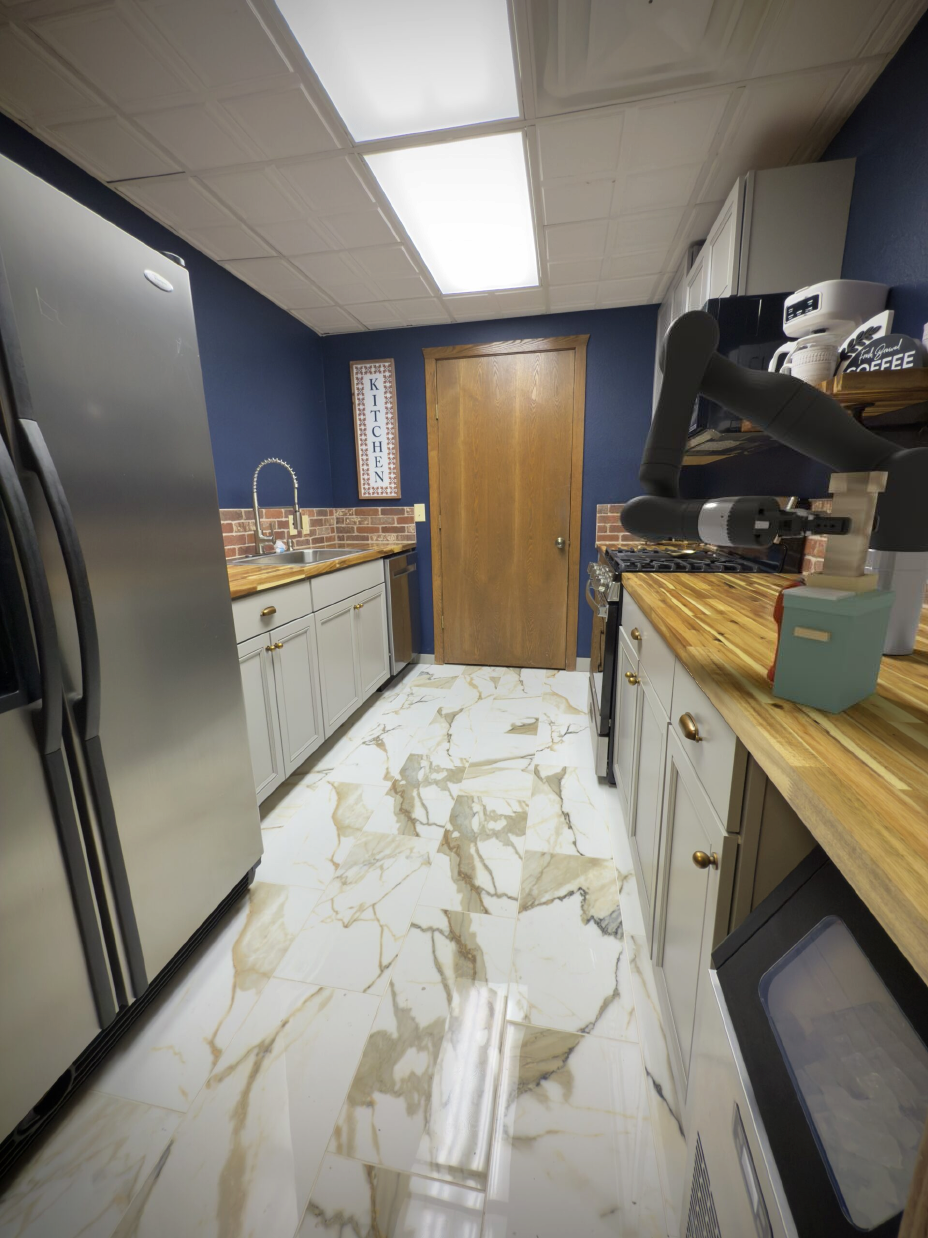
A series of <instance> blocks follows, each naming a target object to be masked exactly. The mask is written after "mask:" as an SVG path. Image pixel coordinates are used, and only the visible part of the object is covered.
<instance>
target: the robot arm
mask: <svg viewBox="0 0 928 1238" xmlns="http://www.w3.org/2000/svg"><path fill="white" fill-rule="evenodd" d="M719 342H720V326H719V324H718V322H717V319H716V318H715V317H714V316H713V314H711V313H709V312H708V311H705V310H700V309H694V310H689V311H686V312H684V313H682V314H680V315H679V316H678V317H677V318H675V319H674V320H673V321H672V323H670V325H669V326H668V329H666V332H665V333H664V336H663V339H662V344H661V348H660V352H659V357H658V367H659V370H660V373H662V375H663V377H662V383H661V387H660V392H659V396H658V400H657V403H656V407H655V411H654V414H653V418H652V421H651V424H650V428H649V431H648V434H647V438H646V441H645V445H644V449H643V453H642V459H641V461H640V462H641V463H640V466H639V471H638V479H637V480H638V483H639V484H640V486H641V487H642V488H643V489H644V490H645V493H646V495H640V496H637V497H636V496H635V497H634V498H632V499H629V500H628V501H627V502H626V503H625V504H624V505H623V507H622V509H621V511H620V514H619V522H620V524H621V527H622V528H623V530H624V531H625V532H627V533H628V534H629V535H631V536H634V537H637V538H640V539H642V540H644V541H647V542H650V543H655V544H656V543H661V542H664V541H666V540H667V539H668V538H669V537H670V538H672V539H676V540H679V541H683V542H688V543H704V544H712V545H715V546H727V547H741V548H755V549H765V548H768V547H770V546H771V545H772V544H773V543H774V542H775V541H776V539H777V538H780V539H781V538H783V539H786V538H787V539H789V538H803V537H804V536H805V537H809V536H823V535H826V536H828V535H847V534H849V533H850V531H851V525H852V519H851V518H850V517H831V512H830V513H829V511H827V510H822V509H820V510H818V509H817V510H816V509H815V510H813V509H812V510H806V509H804V508H788V509H787V508H782V507H781V505H780V502H779V501H778V500H777V498H776V497H773V496H728V497H726V496H725V497H719V498H706V499H704V498H703V499H702V498H701V499H696V498H695V499H680V487H679V486H680V485H679V479H680V475H681V472H682V471H681V470H682V466H683V462H684V458H685V453H686V449H687V445H688V440H689V434H690V429H691V424H692V421H693V414H694V412H695V411H694V410H695V406H696V405H695V404H696V402H697V398H698V395H699V396H702V397H704V398H706V399H708V400H709V401H713V402H714V403H716V404H718V405H719V406H721V407H722V408H724V409H726V410H728V411H729V412H730V413H732V414H733V415H735V416H737V417H738V418H740V419H742V420H743V421H746V422H747V423H749V424H751V425H752V426H753V427H755V428H757V430H760V431H761V432H763V433H765V434H766V435H768V436H770V437H771V438H772V439H775V440H776V441H778V442H779V443H780V444H783V445H785V446H788V447H789V448H791V449H793V450H795V451H797V452H798V453H800V454H802V455H804V456H807V457H808V458H811V459H812V460H815V461H817V462H819V463H822V464H824V465H826V466H828V467H830V468H832V469H833V470H835V471H836V472H837V473H854V472H875V471H880V472H888V475H887V481H886V486H885V492H878V496H877V502H876V507H875V513H874V519H873V524H872V530H871V536H870V542H869V547H868V553H867V559H866V565H865V570H864V573H869V574H879V575H878V580H877V586H876V589H878V590H887V591H895V592H896V596H895V601H894V604H892V607H891V612H890V618H889V623H888V628H887V633H886V638H885V644H884V649H883V654H882V655H893V656H894V655H896V656H899V655H900V656H903V655H904V656H906V655H911V654H912V653H914V648H915V644H916V639H917V634H918V630H919V625H920V621H921V614H922V611H923V607H924V600H925V596H926V592H927V585H928V447H927V446H921V447H915V448H906V447H904V446H901V445H899V444H896V443H894V442H892V441H889V440H887V439H885V438H884V437H881V436H879V435H877V434H876V433H873V432H871V431H870V430H868V429H867V428H865V427H864V426H863V425H862V424H861V423H859V421H858V420H856V418H855V417H853V415H852V414H851V413H850V412H849V410H847V409H846V408H845V407H844V406H843V405H841V404H840V402H838V401H837V400H836V399H834V397H832V396H831V395H829V394H828V393H826V392H825V391H823V390H822V389H819V388H817V387H816V386H814V385H812V384H810V383H809V382H807V381H805V380H803V379H802V378H800V377H796V376H794V375H791V374H788V373H783V372H778V371H777V372H776V371H770V370H769V371H768V370H760V369H759V370H758V369H752V368H748V367H745V366H743V365H740V364H738V363H736V362H734V361H732V360H731V359H729V358H727V357H726V356H725V355H722V354H721V353H719V352H718V351H717V349H718V346H719Z"/></svg>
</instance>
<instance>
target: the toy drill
mask: <svg viewBox="0 0 928 1238" xmlns="http://www.w3.org/2000/svg"><path fill="white" fill-rule="evenodd" d="M805 581H806V579H805V578H804V577H802V576H801V577H799V578H798V579H797V580H795V581H792V582H789V583H786V584H785V585H784V586H783V587H781V588H780V591H779V592H778V595H777V597H776V600H775V604H774V609H773V612H772V618H773V621H774V622H775V624H776V625H777V638H776V639H777V643H776V648H775V653H774V659H773V664H772V665H771V666H770V667H769V669H768V671H767V673H766V679H767V680H768V681H769V682H771V683H773V684H774V676H775V669H776V662H777V655H778V648H779V640H780V633H781V626H782V619H783V611H784V606H782V605H783V598H784V594H783V593H782V590H786V589H790V588H795V587H799V586H806V582H805Z"/></svg>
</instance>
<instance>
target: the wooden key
mask: <svg viewBox="0 0 928 1238" xmlns="http://www.w3.org/2000/svg"><path fill="white" fill-rule="evenodd" d="M887 475H888V472H880V471H875V472H854V473H839V472H837V473H830V481H829V486H828V494H829V493H831V494H832V493H833V496H832V497H833V499H832V503H831V504H832V505H831V509H830V510H831V512H830V513H831V517H850V518H851V519H852V525H851V531H850V533H849V534H847V535H826V536H827V538H826V543H825V551H824V557H823V563H822V570H821V571H822V574H824V575H835V576H845V577H855V578H856V577H860V576H864V570H865V565H866V559H867V553H868V547H869V542H870V536H871V530H872V524H873V519H874V513H875V507H876V502H877V496H878V492H885V486H886V481H887Z"/></svg>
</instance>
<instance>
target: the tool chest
mask: <svg viewBox="0 0 928 1238" xmlns="http://www.w3.org/2000/svg"><path fill="white" fill-rule="evenodd" d="M878 575H879V574H869V573H864V576H860V577H856V578H855V577H845V576H835V575H824V574H822V570H820V571H813V572H808V573H807V575H806V580H805V581H806V582H805V584H806V586H799V587H795V588H790V589H786V590H782V593H783V594H784V598H783V605H782V606H784V611H783V619H782V626H781V633H780V640H779V648H778V655H777V662H776V669H775V676H774V683H773V685H772V691H771V692H772V693H771V696H774V697H777V698H780V699H783V700H787V701H790V702H794V703H798V704H801V705H804V706H807V707H811V708H814V709H816V710H820V711H824V712H828V713H831V714H834V715H838V714H839V713H841V712H842V711H845V710H846V709H847V710H848V708H851V707H852V706H854V705H856V704H858V703H860V702H861V701H863V700H865V699H866V698H868V697H871V696H872V695H874V694H876V690H877V685H878V680H879V676H880V668H881V664H882V658H883V655H884V654H883V649H884V644H885V638H886V633H887V628H888V623H889V618H890V612H891V607H892V604H894V601H895V596H896V592H895V591H887V590H878V589H876V586H877V580H878Z"/></svg>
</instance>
